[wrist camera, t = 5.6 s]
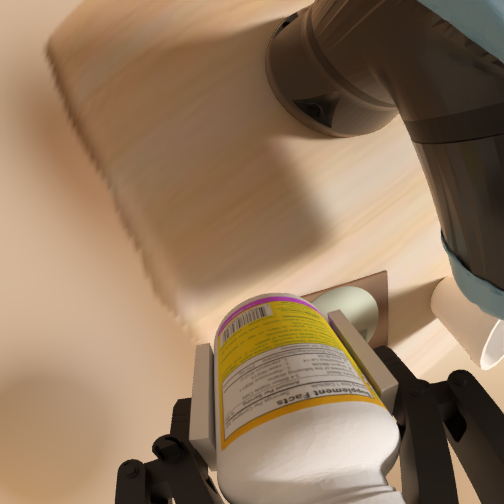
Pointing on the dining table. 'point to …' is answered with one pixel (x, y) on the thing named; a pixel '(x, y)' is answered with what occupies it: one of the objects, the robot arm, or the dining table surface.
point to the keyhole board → (359, 306)
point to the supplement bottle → (296, 411)
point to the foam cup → (468, 324)
